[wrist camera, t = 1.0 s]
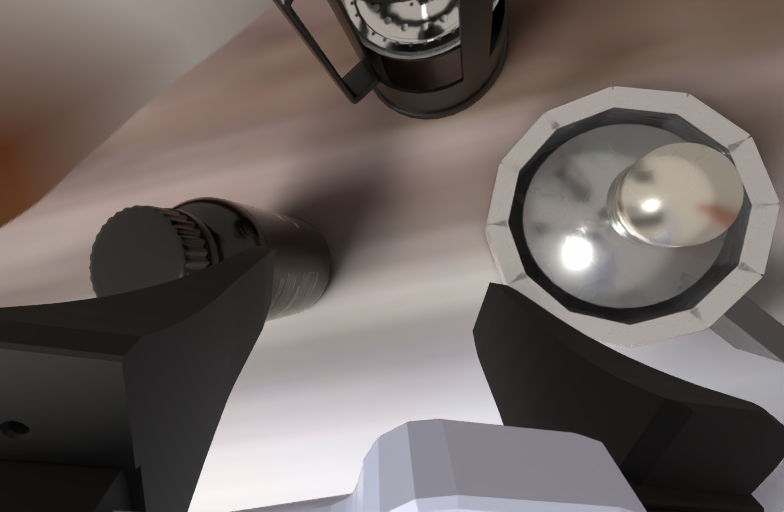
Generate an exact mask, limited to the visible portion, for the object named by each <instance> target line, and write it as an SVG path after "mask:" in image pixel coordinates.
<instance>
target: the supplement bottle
mask: <svg viewBox="0 0 784 512" xmlns="http://www.w3.org/2000/svg"><path fill="white" fill-rule="evenodd" d="M253 246H261V247H267V248H274V249H275V261H274V274H273V287H272V300H271V305H270V309H269V312H268V315H267V318H266V320H265V322H266V321H270V320H274V319H278V318H282V317H286V316H289V315H293V314H296V313H299V312H301V311H304V310H305V309H307V308H309V307H310V306H312V305H313V304H314V303H315V302H316V301H317V300H318V299H319V298H320V296H321V295H322V293H323V292H324V290H325V288H326V286H327V283H328V280H329V276H330V268H331V263H330V255H329V251H328V248H327V246H326V244H325V241H324V240H323V238H322V237H321V235H320V234H319V233H318V232H317V231H316V230H315V229H314V228H313V227H312V226H310V225H309V224H307V223H306V222H304V221H301V220H299V219H296V218H292V217H289V216H285V215H282V214H278V213H274V212H270V211H267V210H263V209H259V208H255V207H251V206H248V205H244V204H240V203H236V202H233V201H229V200H225V199H219V198H213V197H201V198H194V199H191V200H187V201H185V202H182V203H180V204H178V205H176V206H175V207H173V208H158V207H153V206H139V205H137V206H133V207H131V208H125V209H123V211H121V212H117V213H116V214H115V215H114V216H113V217H111V218H109V219H108V221H107V223H106V224H104V225H103V226H102V228H101V230H100V232H99V233H98V234H97V236H96V240H95V242H94V244H93V246H92V253H91V255H90V261H91V263H90V267H89V269H90V272H91V276H90V280H91V282H92V284H93V291H94V292H95V293H96V296H97V298H98V297H104V296H110V295H115V294H120V293H124V292H129V291H134V290H138V289H143V288H147V287H151V286H155V285H158V284H162V283H165V282H169V281H172V280H175V279H178V278H181V277H184V276H187V275H189V274H192V273H194V272H197V271H199V270H202V269H204V268H207V267H209V266H212V265H214V264H216V263H219V262H221V261H223V260H225V259H227V258H229V257H231V256H234V255H236V254H238V253H240V252H242V251H244V250H246V249H248V248H251V247H253Z"/></svg>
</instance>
